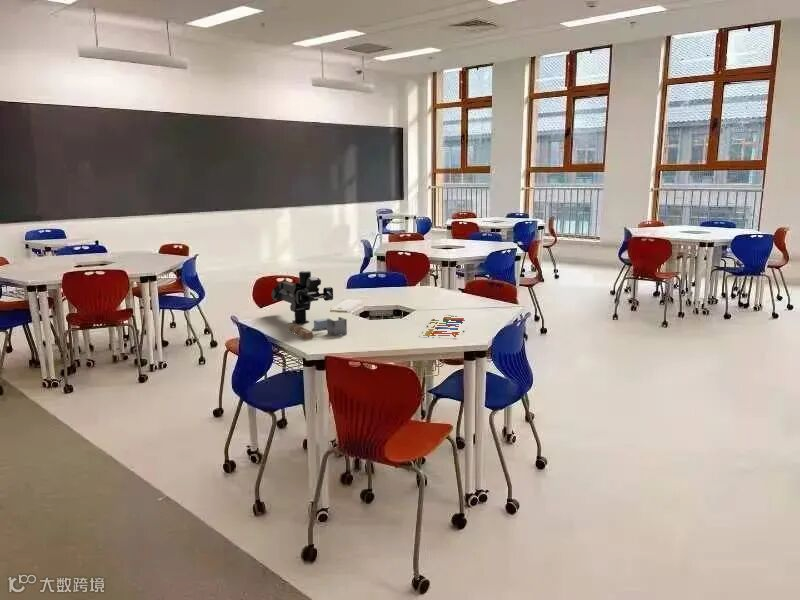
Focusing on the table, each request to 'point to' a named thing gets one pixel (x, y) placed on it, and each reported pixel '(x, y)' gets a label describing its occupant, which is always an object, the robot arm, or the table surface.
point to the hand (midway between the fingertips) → (323, 298)
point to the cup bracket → (337, 326)
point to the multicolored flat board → (445, 319)
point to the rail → (301, 331)
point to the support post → (320, 323)
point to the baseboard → (346, 305)
